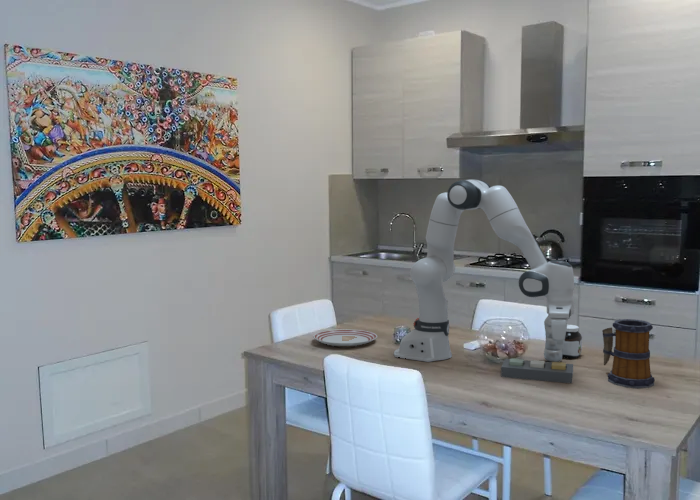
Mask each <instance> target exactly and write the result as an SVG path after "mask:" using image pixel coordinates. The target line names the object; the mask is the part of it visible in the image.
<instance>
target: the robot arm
mask: <svg viewBox="0 0 700 500" xmlns="http://www.w3.org/2000/svg"><path fill="white" fill-rule="evenodd" d="M480 209H481V210H482V211H483V212H484V213H485V215H486V217H487V219H488V222H489V224H490V226H491V228H492V230H493V231H494V234H495V235H496V236H497V237H498V238H499V239H501V240H503V241H506V242H509V243H511V244H513V245H515V246H516V247H517V248H518V249H519V250H520V251H521V253H522V255H523V256H524V258H525V260H526V262H527V263H528V265H529V267H530V269H529V270H526V271H525V272H523V273H521V274H520V276H519V279H518V287H519V289H520V292H521V293H522V294H523V295H524V296H526V297H529V298H538V297H545V298H546V314H547V316H548V315H549V318H551V328H552V337H553V340H554V341H557V349H560V350H562V349H563V341H565V335H566V330H567V325H568V321H569V320H570V319H571V316H572V315H574V314H575V297H574V290H575V280H574V279H575V276H574V275H575V274H574V269H573V266H572V264H571V263H569V262H568V261H566V260H565V261H564V260H559V259H552V260H549V261H548V259H547V257H546V256H545V253H544V251H543V249H542V248H541V246H540V245H539V242H538V241H537V239H536V238H535V236H534V234H533V233H532V232H531V230H530V228H529V227H528V225H527V222H526V221H525V219H524V217H523V215H522V213H521V210H520V208H519V207H518V204H517V203H516V201H515V200H514V198H513V196H512V195H511V193H510V191H508V189H507V188H506V187H505V186H503V185H492V186H491V184H490V183H487V181H485V180H482V179H481V180H480V179H474V178H473V179H472V178H470V179H461V180H458V181H455V182H453V183H452V184H451V185H450V186H449V187H448V189H447V191H446V192H445V191H444V192H442V193H440V194H438V195H437V196H436V198H435V201H434V202H433V206H432V209H431V212H430V216H429V220H428V225H427V228H426V233H425V241H426V245H427V250H426V251H427V253H426V257H424V258H421V259H418V260H417V261H416V262H415V263H413V265H411V268H410V270H409V276H410V279H411V281H412V283H413V284H414V286H415V289H416V293H417V299H418V317H417V318H416V319H415V321H414V322H413V329H412V330H411V331H409V332H408V333H407V334H406V335H404V336H403V337H402V338H401V340H400V343H399V347H398V348H397V349H395V350H394V351H393V356H394V357H395V358H398V357H400V359H405V358H406V359H407V360H413V361H420V362H426V363H431V362H435V361H443V360H448V359H451V358H452V357H453V354H452V350H451V346H450V340H449V338H450V337H449V334H450V320H449V319H448V318H449V316H448V315H449V312H448V310H449V309H448V308H449V306H448V305H449V303H448V302H449V301H448V299H447V297H446V295H445V292H444V285H443V283H444V282H447V281H449V280H450V279H451V278H452V276H453V275H454V273H455V272H456V264H455V262H454V260H455V259H454V254H455V252H454V251H455V242H456V237H457V234H458V227H459V225H460V218H461V215H462V213H463V212H465V211H474V210H480Z"/></svg>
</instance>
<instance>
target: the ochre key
mask: <svg viewBox="0 0 700 500" xmlns="http://www.w3.org/2000/svg"><path fill="white" fill-rule="evenodd" d="M566 364H567V363H566V362H562V361H559V362H552V369H559V370H566Z"/></svg>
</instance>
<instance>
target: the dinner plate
mask: <svg viewBox="0 0 700 500" xmlns="http://www.w3.org/2000/svg"><path fill="white" fill-rule="evenodd" d="M342 336H355V337H357V338H354V339H352V340H349V341H342ZM312 337H313V339H314V340H315V341H317V342H319V343H321V344H324V345H326V344H327V345H326V346H329V345H332V346H331V347H334V346H355V347H358V346H357V345H361V346H363V345H362V344H364V345H365V344H368V343H370V342H373V341H374V340H376V339H378V335H377V334H376V333H374V332H372V331H370V330H369V331H367V330H363V329H346V328H345V329H343V328H342V329H340V328H339V329H329V330H323V331H318V332H316V333H314V334H313V335H312Z"/></svg>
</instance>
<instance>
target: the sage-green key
mask: <svg viewBox="0 0 700 500" xmlns="http://www.w3.org/2000/svg"><path fill="white" fill-rule="evenodd" d="M509 359H510V361H509V365H513V366H523V365H524V360H525V359H524V358H514V357H513V358H509Z"/></svg>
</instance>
